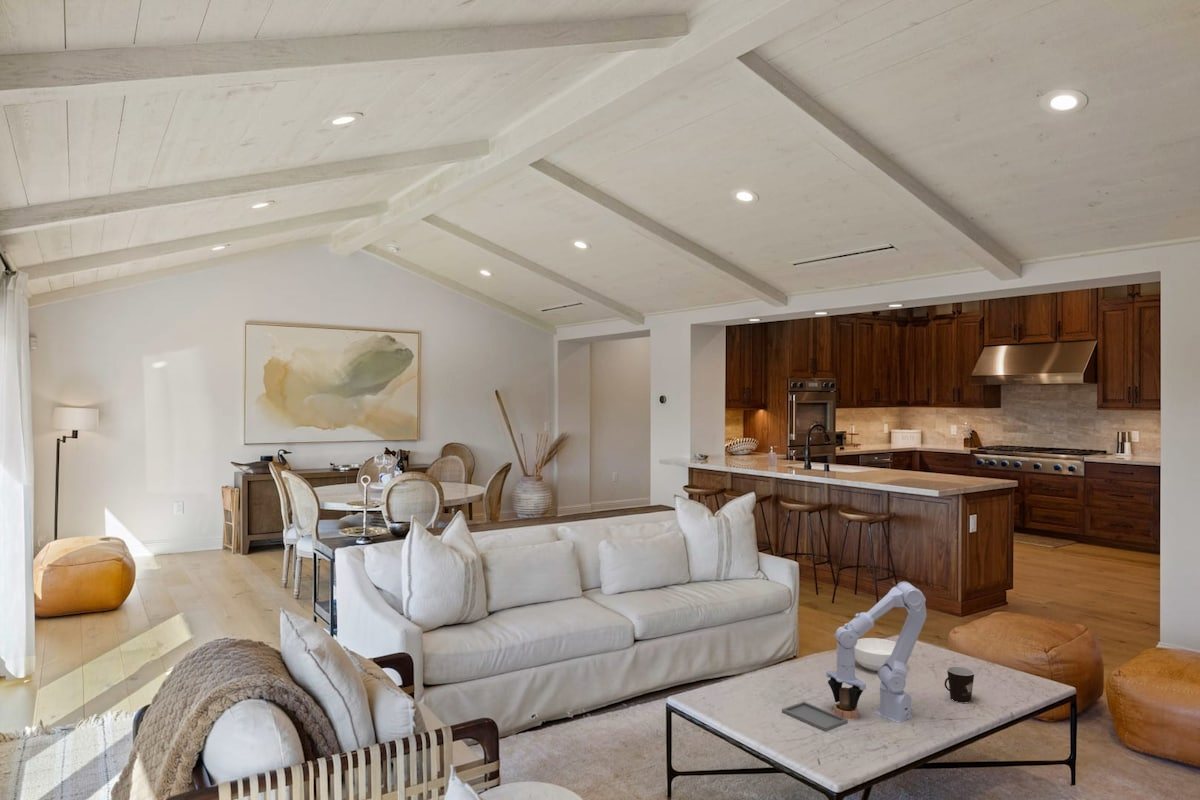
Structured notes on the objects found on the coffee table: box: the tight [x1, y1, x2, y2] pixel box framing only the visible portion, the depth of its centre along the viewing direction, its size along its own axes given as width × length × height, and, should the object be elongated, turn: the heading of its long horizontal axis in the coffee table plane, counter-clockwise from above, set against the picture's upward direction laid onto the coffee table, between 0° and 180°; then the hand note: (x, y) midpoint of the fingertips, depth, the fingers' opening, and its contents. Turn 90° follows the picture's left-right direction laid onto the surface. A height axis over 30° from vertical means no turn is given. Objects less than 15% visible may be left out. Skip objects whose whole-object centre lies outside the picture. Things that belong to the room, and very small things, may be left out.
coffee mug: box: [944, 666, 975, 703], centre depth 271 cm, size 12×9×10 cm
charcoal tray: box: [781, 701, 849, 733], centre depth 256 cm, size 18×11×2 cm, turn 35°
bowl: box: [855, 637, 897, 672], centre depth 303 cm, size 20×20×8 cm
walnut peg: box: [838, 687, 852, 711], centre depth 259 cm, size 4×4×8 cm
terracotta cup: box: [832, 702, 860, 720], centre depth 259 cm, size 8×8×2 cm
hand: (845, 704), depth 259 cm, fingers open, 6 cm apart
